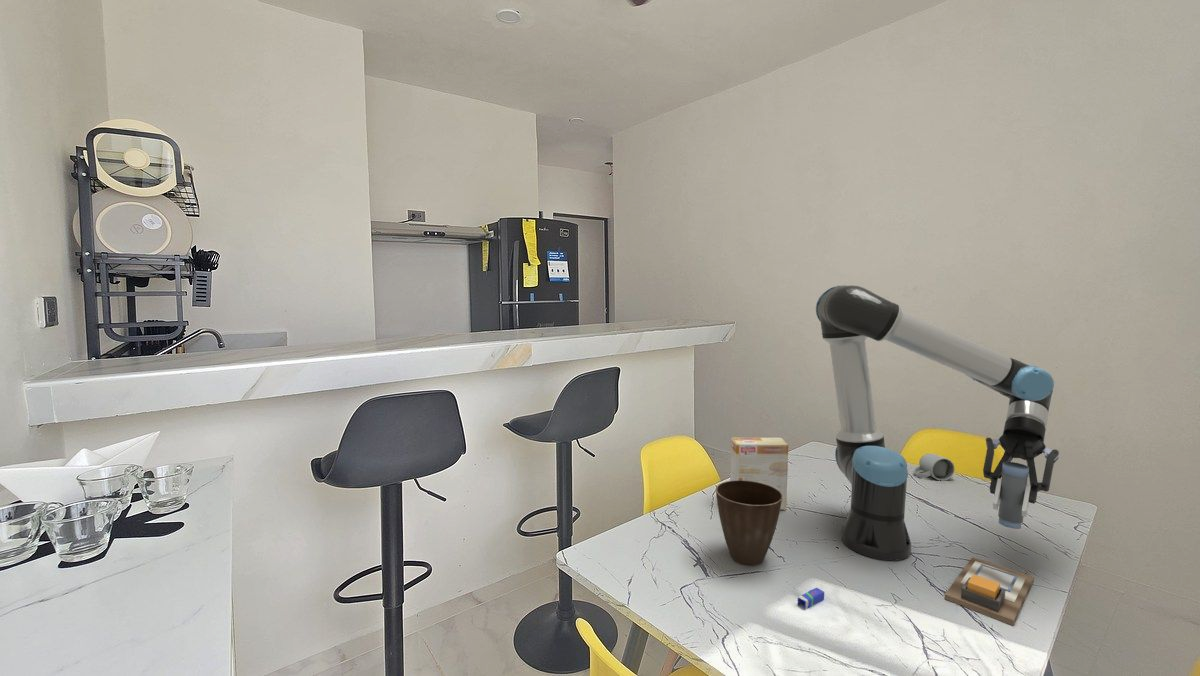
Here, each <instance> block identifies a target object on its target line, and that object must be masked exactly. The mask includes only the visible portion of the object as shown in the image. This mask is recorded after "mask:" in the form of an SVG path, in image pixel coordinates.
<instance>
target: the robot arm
mask: <svg viewBox="0 0 1200 676" xmlns="http://www.w3.org/2000/svg"><path fill="white" fill-rule="evenodd" d="M815 314H816V318H817V319H818V321H819V322H820V328H821V335H822V336H821V337H822V339H823V340H824V341H825V342H827V343H828V344H829V349H830V356H831V364H832V371H833V372H832V373H833V380H834V388H835V394H836V400H837V402H836V403H837V409H838V417H839V425H840V430H839V431H838V432H837V433H836V434H835V441H836V447H835V450H834V451H835V452H834V453H835V463H836V465H837V466H838V468H839V470H840V472H842V474H843V475H844V476H845V478H846V479H847V481H848V482H849V483H850V485H851V492H850V493H851V495H850V509H849V512H848V514H847V517H846V518H845V521H844V524H843V526H842V529H841V537H840V539H841V541H842V543H843V544H844V545H845V546H846V547H847V548H849V550H850V549H851V550H852V551H853V552H856V553H858V554H860V555H863V556H866V557H868V558H873V559H876V560H882V561H901V560H906V559H907V558H909V557H910V556H911V553H912V552H911V550H912V542H911V539H910V536H909V532H908V529H907V526H906V523H905V513H906V512H905V509H906V498H907V497H906V496H907V485H908V484H907V482H908V477H909V469H908V462H907V461H906V458H905V457H904V456H903V455H902V454H900V453H899V452H897V451H895V450H891V448H888V447H886V443H885V438H884V437H885V436H884V433H883V432H882V431H881V430H879V429H878V428H877V425H876V424H877V423H876V419H875V416H876V415H875V409H874V400H873V393H872V386H871V385H872V384H871V377H870V369H869V362H868V353H867V347H866V339H867V338H869V339H872V340H873V341H874V340H875V341H876V342H881V341H888V342H889V343H891V344H894V345H896V346H899V347H901V348H904V349H906V350H908V351H910V352H913V353H915V354H917V355H920V356H922V357H924V358H927V359H929V360H931V361H934V362H935V363H938V364H941V365H943V366H945V367H948V368H949V369H952V370H954V371H956V372H959V373H962V374H964V375H965V376H967V377H969V378H970V379H972V380H973V381H976V382H978V383H979V384H982V385H983V386H985V387H987V388H988V389H991V390H993V391H995V392H997V393H999V394H1000V395H1002V396H1004V397H1006V398H1008V399H1009V401H1008V407H1007V413H1006V417H1005V422H1004V426H1003V433H1002V435H1001V436H1000V437H999V438H996V439H995V438H993V439H992V438H991V437H986V438H985V446H986V454H985V458H984V464H983V467H982V468H983V470H982V472H983V474H982V475H983V477H984V478H985V479H989V480H990V485H989V492H990V494H993V495H994V496H993V500H992V509H993V510H996V511H999V501H1000V493H1001V482H1002V465H1003V462H1013V461H1012V460H1013V459H1021V460H1023V461H1026V466H1028V467H1029V474H1028V477H1029V478H1028V480H1029V484H1027V485H1026V489H1025V495H1024V501H1023V506H1022V516H1023V518H1027V516H1028V515H1027V514H1028V510H1029V509H1028V508H1029V504H1034V505H1035V504H1036V502H1037V497H1038V493H1039V492H1041V491H1044V492H1045V493H1046V492H1049V491H1050V488H1051V482H1052V481H1051V480H1052V474H1053V470H1054V469H1053V468H1054V464H1055V463H1056V462H1057V461H1058V460H1059V458H1060V454H1059V453H1060V451H1059V450H1058V449H1056V448H1055V449H1051V448H1048V447H1046V444H1045V442H1044V441H1045V436H1046V429H1047V423H1048V417H1049V411H1050V410H1049V409H1050V406H1051V401H1052V395H1053V393H1054V386H1055V381H1054V378H1053V377H1052V375H1051V373H1049V371H1047V370H1045V369H1044V368H1043V369H1042V368H1040V367H1038V366H1035V365H1029V364H1026V363H1024V362H1022V361H1020V360H1017V359H1016V358H1015V359H1014V358H1012V357H1009V356H1008V355H1007V354H1006V355H1005V354H1003V353H1001V352H998V351H996V350H993V349H991V348H989V347H987V346H985V345H982V344H980V343H979V342H978V343H977V342H974V341H973V340H970V339H968V338H966V337H963V336H961V335H959V334H957V333H954V332H951V331H949V330H947V329H945V328H942V327H939V326H937V325H935V324H933V323H930V322H928V321H925V320H923V319H921V318H918V317H917V316H914V315H912V314H909V313H906V312H905V311H902V308H901V306H900V305H899V304H897V303H895V302H893V301H890V300H888V299H886V298H884V297H882V296H880V295H878V294H876V293H874V292H873V291H871V290H869V289H867V288H865V287H862V286H859V285H844V284H843V285H835V286H832V287H829V288H827V289H826V290H825V291H824V292H823V293H821V295H819V297H818V299H817V301H816V304H815ZM999 445H1000V446H1001V448H1002V449H1003V450H1004V452H1003V455H1002V457H1001V458H1000V460H999V462H998V463H997V465H996V467H995V469H994V471H993V472H992V469H993V468H992V467H993V462H994V456H995V450H996V449H998V447H999ZM1041 454H1044V458H1045V465H1044V471H1043V474H1042V480H1041V482H1040V481H1039V482H1038V477H1037V468H1036V463H1035V458H1036V457H1039V456H1040V455H1041Z"/></svg>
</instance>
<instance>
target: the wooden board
mask: <svg viewBox="0 0 1200 676" xmlns="http://www.w3.org/2000/svg"><path fill="white" fill-rule="evenodd" d="M973 574H975V575H978V576H981V577H983V578H986V579H989V580H992V581H995V582H998V583H1000V590H999V594H998V596H997V598H996V600H995V599H992V598H989V597H987V596H984V595H981V594H978V593H976V592H973V591H970V590H968V589H967V587H968V581H969V580H970V578H971V577H972V575H973ZM1034 579H1035V577H1034V576H1033V575H1029V574H1027V573H1023V572H1021V571H1018V570H1015V569H1011V568H1010V567H1009V568H1008V567H1005V566H1002V565H999V564H996V563H992V562H990V561H987V560H984V559H981V558H977V557H974V556H971V558H970V559H969V560H968V562H967V564H966V565H965V566H964V567H963V568H962V570H961V571H960V573H959V574H958V576H957V577H956V579H955V580H954V581H953V583H951V585H950V587H949V588H948V589H947V591H946V592H945V594H944V599H945V600H946V601H949V602H952V603H954V604H955V605H959V606H961V605H962V607H965V608H967V609H970V610H972V611H975V612H978V614H979V613H980V614H982V615H985V616H987V617H990V618H993V619H995V620H997V621H1000V622H1003V623H1005V624H1009V625H1010V626H1014V624H1015V623H1016V620H1017V618H1018V616H1019V614H1020V612H1021V610H1020V609H1022V607H1023V604H1024V602H1025V601H1026V598H1027V596H1028V594H1029V591H1030V589H1031V587H1032V585H1033V583H1034Z"/></svg>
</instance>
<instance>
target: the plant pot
mask: <svg viewBox="0 0 1200 676" xmlns="http://www.w3.org/2000/svg"><path fill="white" fill-rule="evenodd" d="M715 494H716V502H717V510H718V515H719V520H720V525H721V529H722V533H723V537H724V540H725V543H726V546H727V549H728V552H729V555H730V557H731V559H732V560H733V561H734V562H737V563H739V564H741V565H747V566H756V565H757V566H758V565H760V564H762V563H763V562H764V559H765V557H766V555H767V553H768V551H769V549H770V546H771V543H772V540H773V539H774V538H773V537H774V535H775V532H776V529H777V524H778V521H779V516H780V513H781V510H780V507H781V502H782V494H781V493H780V492H779V491H778V490H777V489H775V488H773V487H771V486H769V485H766V484H763V483H758V482H753V481H742V480H736V481H730V480H728V481H724V482H722V483H720V484H717V486H716V488H715Z"/></svg>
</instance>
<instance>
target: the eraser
mask: <svg viewBox="0 0 1200 676" xmlns="http://www.w3.org/2000/svg"><path fill="white" fill-rule="evenodd" d="M824 600H825V591H823V590H822V589H820V588H818V587H814V588H813V589H810V590H808V591H807V592H805V593H804V594H801V595H799V596H798V597H797V605H798V606H799V605H801V604H803V603H804V610H807V609H808V608H811V607H813V606H815V605H816V604H819V603H821V602H822V601H824ZM814 604H815V605H814ZM812 605H813V606H812Z"/></svg>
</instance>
